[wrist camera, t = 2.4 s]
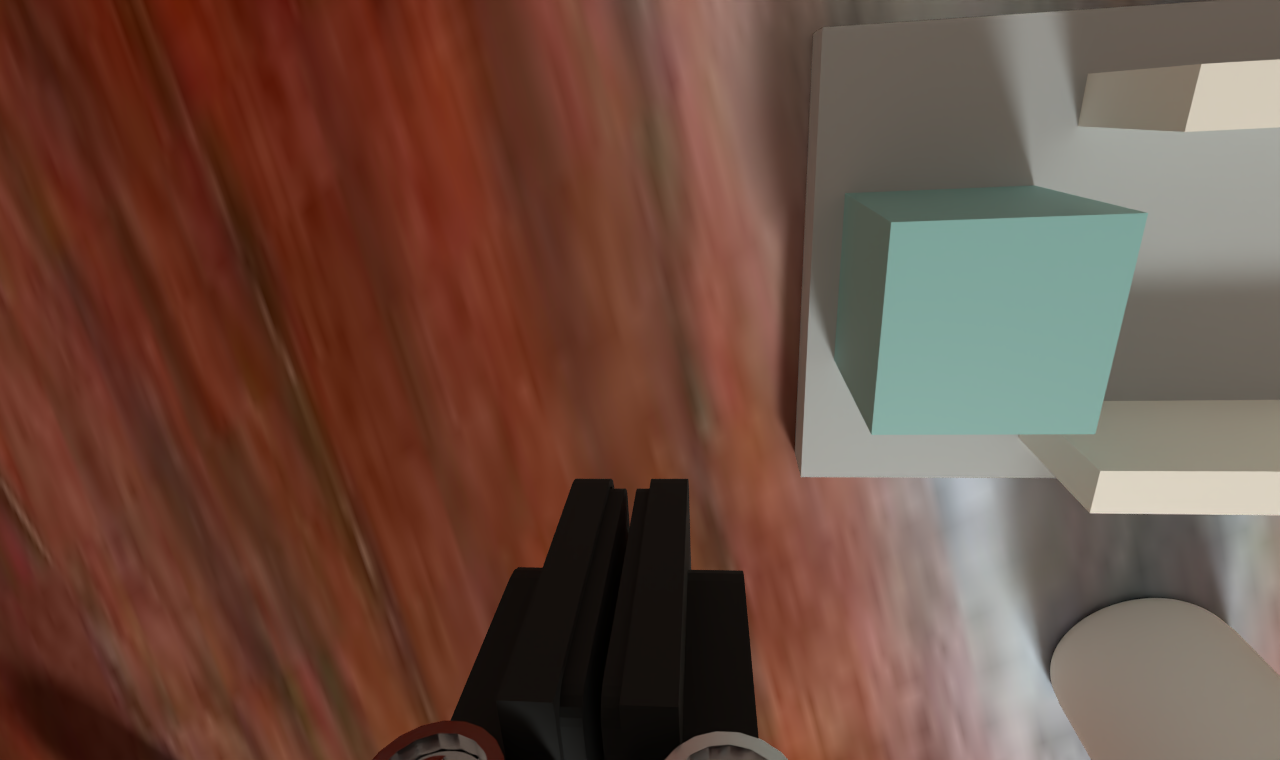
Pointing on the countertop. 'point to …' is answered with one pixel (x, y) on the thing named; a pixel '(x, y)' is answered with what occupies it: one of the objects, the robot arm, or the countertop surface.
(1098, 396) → the teal block
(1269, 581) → the countertop surface
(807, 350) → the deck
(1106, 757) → the pill bottle
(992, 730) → the countertop surface
